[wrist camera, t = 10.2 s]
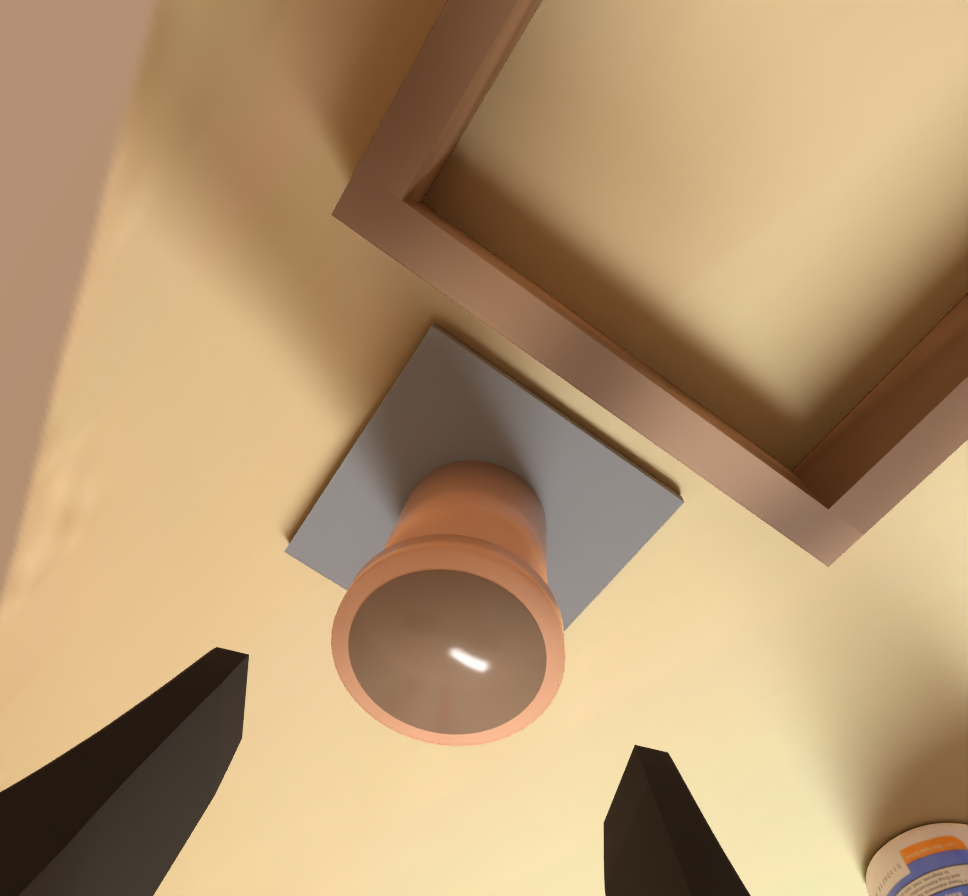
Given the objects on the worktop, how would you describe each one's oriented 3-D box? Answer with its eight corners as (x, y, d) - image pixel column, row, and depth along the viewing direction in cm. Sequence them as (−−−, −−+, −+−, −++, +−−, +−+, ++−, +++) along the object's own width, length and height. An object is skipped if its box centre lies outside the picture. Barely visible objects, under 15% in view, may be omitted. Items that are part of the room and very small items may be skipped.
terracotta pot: (576, 470, 18) (592, 585, 13) (536, 613, 20) (534, 768, 15) (405, 432, 18) (345, 529, 13) (381, 578, 20) (319, 719, 15)
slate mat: (681, 496, 19) (684, 502, 18) (509, 682, 22) (508, 690, 21) (433, 323, 18) (431, 325, 17) (289, 545, 21) (284, 551, 20)
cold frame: (1311, 18, 13) (1472, -23, 11) (792, 522, 19) (828, 567, 16) (773, -519, 11) (832, -707, 9) (360, 214, 17) (331, 214, 14)
